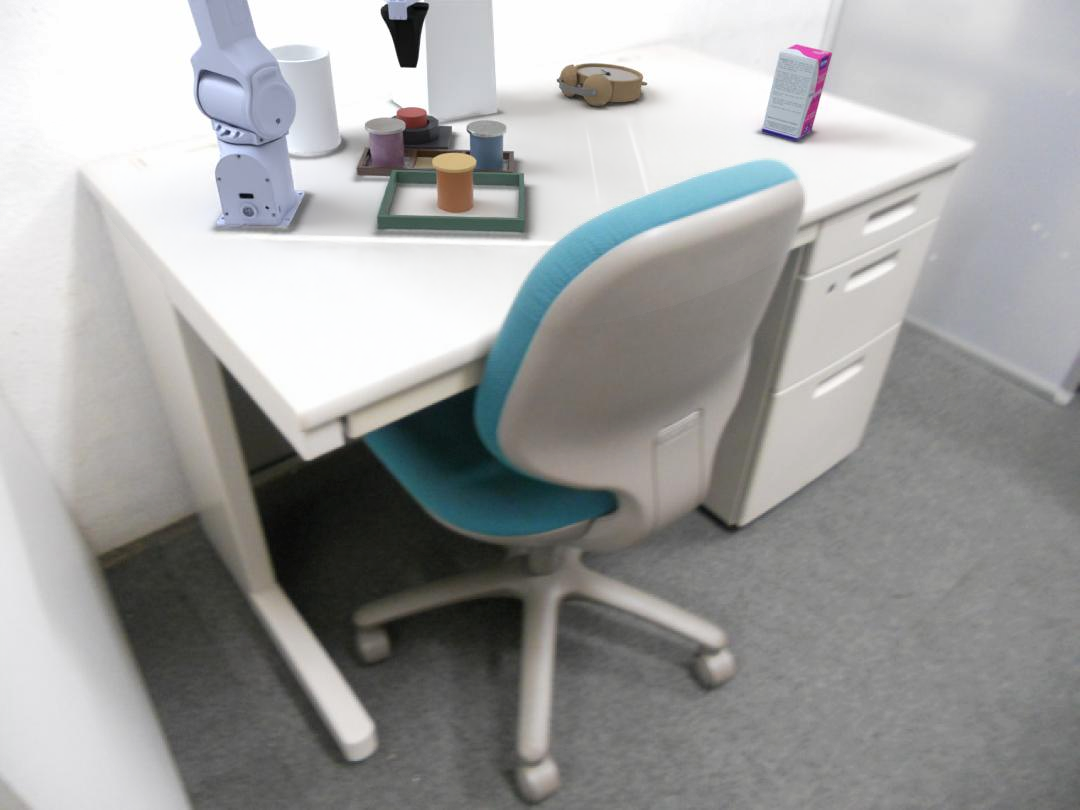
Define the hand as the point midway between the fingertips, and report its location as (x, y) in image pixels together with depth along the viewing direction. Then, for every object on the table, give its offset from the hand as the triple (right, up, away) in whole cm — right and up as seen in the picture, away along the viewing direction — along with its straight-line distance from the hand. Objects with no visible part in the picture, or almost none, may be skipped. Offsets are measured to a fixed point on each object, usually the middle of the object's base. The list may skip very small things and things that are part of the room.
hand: (408, 66), depth 106 cm
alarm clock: (+26, +5, +26) cm, 37 cm away
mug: (-15, -8, +6) cm, 18 cm away
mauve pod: (-3, -13, -1) cm, 13 cm away
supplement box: (+53, -4, +15) cm, 56 cm away
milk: (+2, +2, +19) cm, 19 cm away
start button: (0, -6, +5) cm, 8 cm away
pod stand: (+4, -13, 0) cm, 14 cm away
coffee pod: (+7, -20, -9) cm, 23 cm away
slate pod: (+10, -13, 0) cm, 17 cm away
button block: (0, -8, +6) cm, 10 cm away
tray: (+7, -21, -9) cm, 24 cm away
